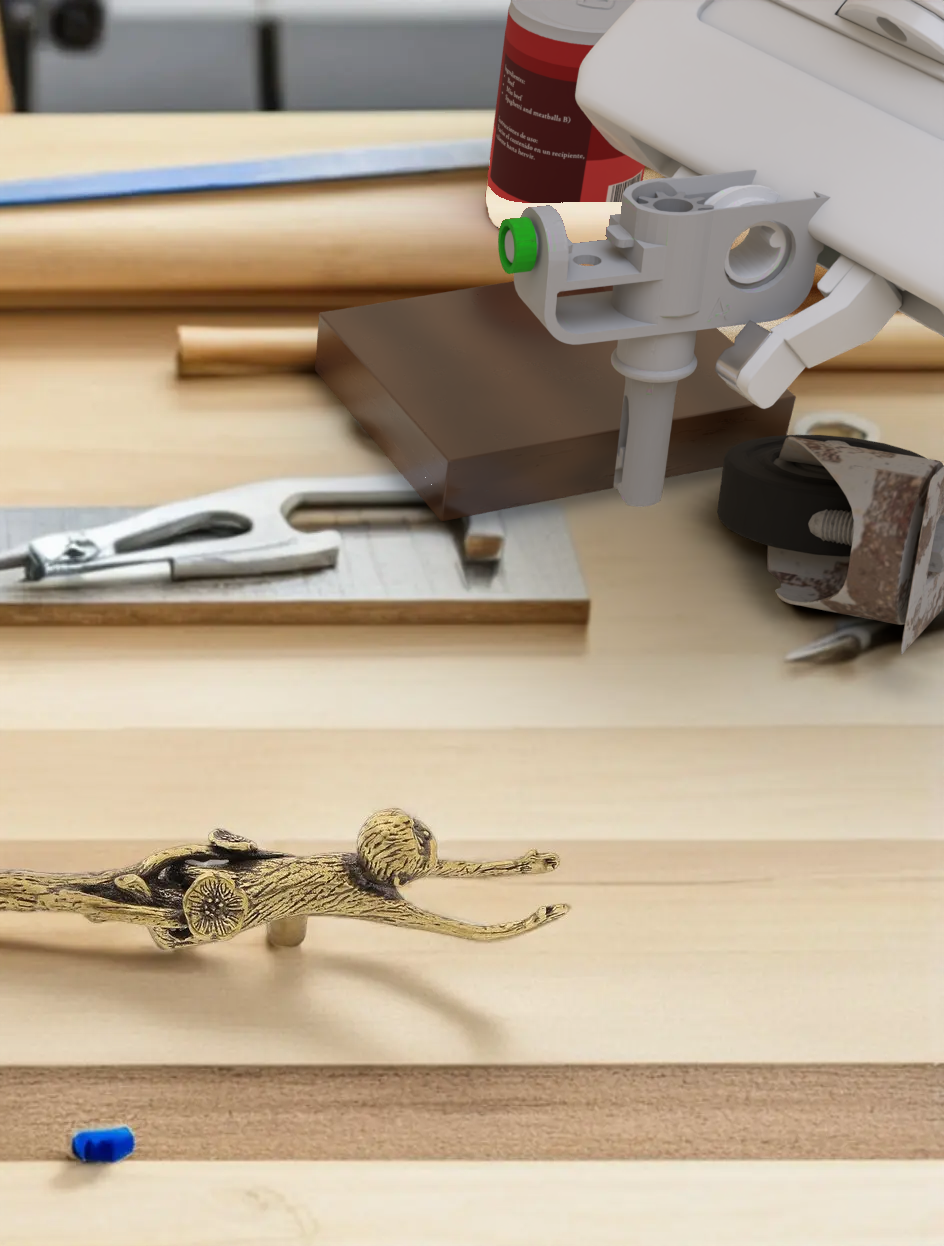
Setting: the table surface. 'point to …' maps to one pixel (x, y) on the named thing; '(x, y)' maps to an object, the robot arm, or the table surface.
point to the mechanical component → (663, 289)
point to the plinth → (512, 400)
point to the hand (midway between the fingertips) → (686, 357)
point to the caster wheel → (843, 524)
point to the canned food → (553, 108)
